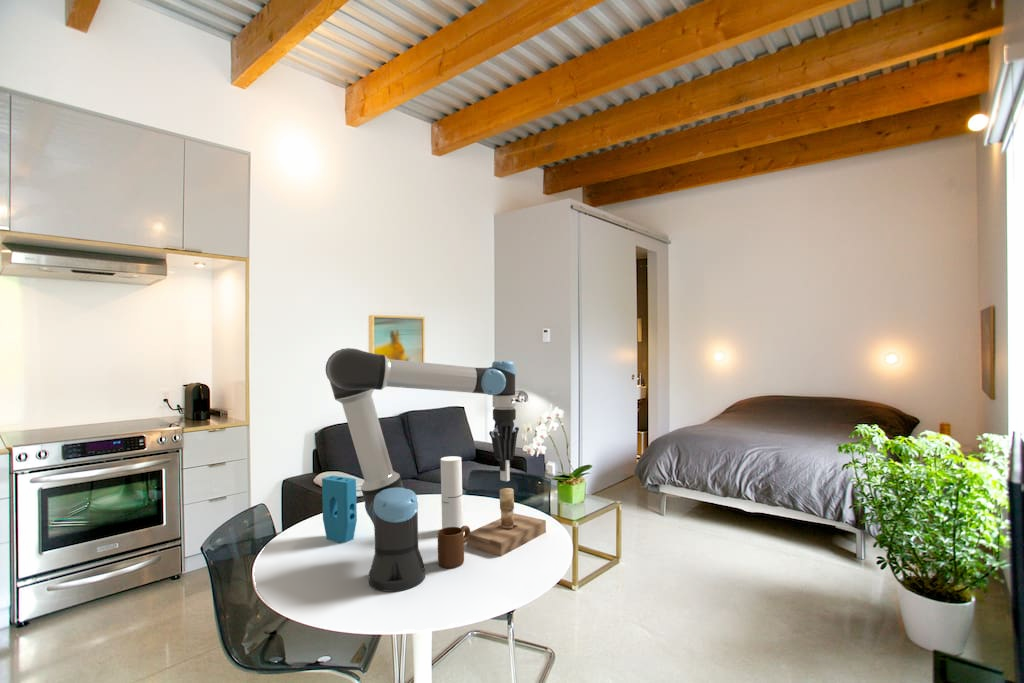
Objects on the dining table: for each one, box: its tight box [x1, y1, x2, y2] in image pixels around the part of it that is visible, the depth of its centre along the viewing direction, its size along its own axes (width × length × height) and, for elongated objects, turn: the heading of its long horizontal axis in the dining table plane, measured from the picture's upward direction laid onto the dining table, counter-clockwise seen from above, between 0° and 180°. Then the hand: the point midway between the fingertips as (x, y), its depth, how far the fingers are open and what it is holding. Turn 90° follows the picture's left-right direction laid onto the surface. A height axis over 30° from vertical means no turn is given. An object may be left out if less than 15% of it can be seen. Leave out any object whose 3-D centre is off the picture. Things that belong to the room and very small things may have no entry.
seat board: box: [466, 512, 547, 557], centre depth 169 cm, size 24×14×4 cm, turn 142°
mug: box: [437, 525, 471, 569], centre depth 153 cm, size 12×8×9 cm, turn 143°
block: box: [321, 475, 358, 544], centre depth 173 cm, size 12×5×20 cm, turn 59°
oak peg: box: [499, 487, 515, 531], centre depth 169 cm, size 5×5×16 cm
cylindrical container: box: [440, 455, 464, 529], centre depth 177 cm, size 7×7×25 cm
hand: (505, 480), depth 169 cm, fingers closed
